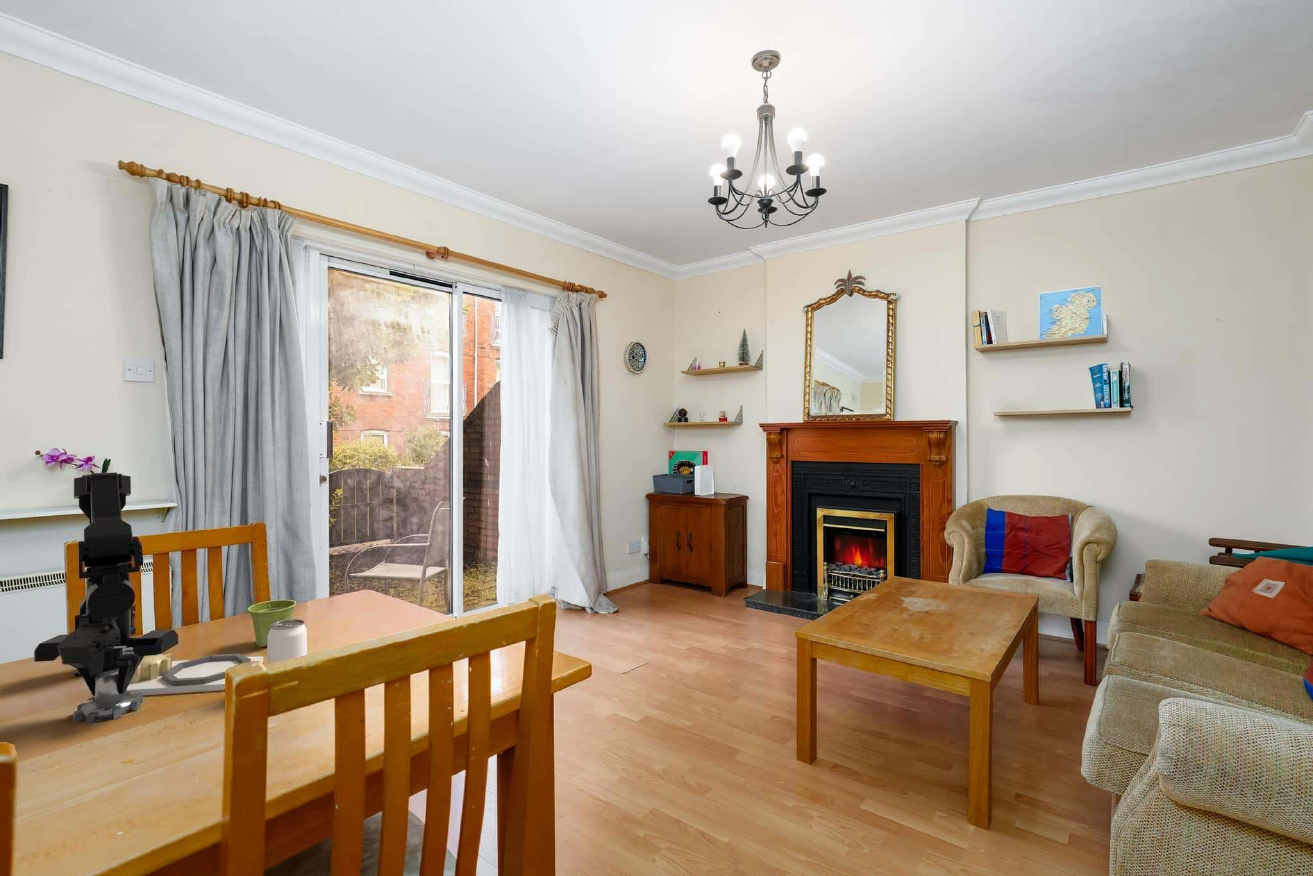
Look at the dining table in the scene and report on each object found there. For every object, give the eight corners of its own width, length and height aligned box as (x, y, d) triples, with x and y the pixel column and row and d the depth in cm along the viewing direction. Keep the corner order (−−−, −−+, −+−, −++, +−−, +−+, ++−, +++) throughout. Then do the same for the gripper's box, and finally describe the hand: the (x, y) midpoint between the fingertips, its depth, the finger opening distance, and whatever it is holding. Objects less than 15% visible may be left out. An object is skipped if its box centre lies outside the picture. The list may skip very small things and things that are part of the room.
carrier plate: (94, 698, 110) (94, 675, 110) (144, 668, 124) (144, 648, 124) (229, 690, 114) (229, 667, 114) (263, 661, 128) (263, 642, 128)
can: (288, 695, 112) (288, 630, 112) (258, 691, 113) (258, 628, 113) (314, 681, 118) (314, 619, 118) (286, 678, 120) (286, 617, 120)
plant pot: (304, 641, 141) (304, 603, 140) (260, 653, 133) (260, 614, 132) (283, 633, 146) (283, 597, 145) (239, 645, 138) (239, 607, 137)
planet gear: (58, 725, 100) (58, 686, 100) (98, 701, 109) (98, 665, 109) (121, 721, 102) (121, 683, 102) (155, 698, 110) (154, 662, 110)
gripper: (4, 621, 95) (5, 720, 96) (139, 616, 99) (140, 711, 99) (60, 601, 106) (60, 690, 107) (180, 597, 110) (180, 682, 110)
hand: (109, 693), depth 105 cm, fingers closed on planet gear, 4 cm apart
